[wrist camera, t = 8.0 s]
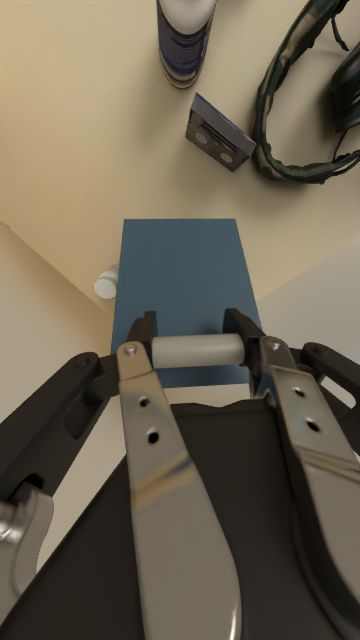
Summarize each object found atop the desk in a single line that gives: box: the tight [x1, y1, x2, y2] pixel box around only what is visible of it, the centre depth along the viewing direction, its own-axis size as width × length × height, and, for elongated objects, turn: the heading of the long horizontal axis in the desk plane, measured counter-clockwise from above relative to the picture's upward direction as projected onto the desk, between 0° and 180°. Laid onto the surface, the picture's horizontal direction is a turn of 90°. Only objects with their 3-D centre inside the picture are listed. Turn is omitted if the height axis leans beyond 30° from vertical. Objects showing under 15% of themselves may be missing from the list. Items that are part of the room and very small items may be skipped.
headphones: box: [251, 0, 360, 185], centre depth 17 cm, size 13×13×20 cm
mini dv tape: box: [186, 92, 256, 172], centre depth 19 cm, size 8×2×6 cm, turn 64°
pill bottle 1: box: [94, 265, 119, 299], centre depth 27 cm, size 4×4×8 cm
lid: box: [110, 219, 262, 388], centre depth 13 cm, size 18×13×5 cm
